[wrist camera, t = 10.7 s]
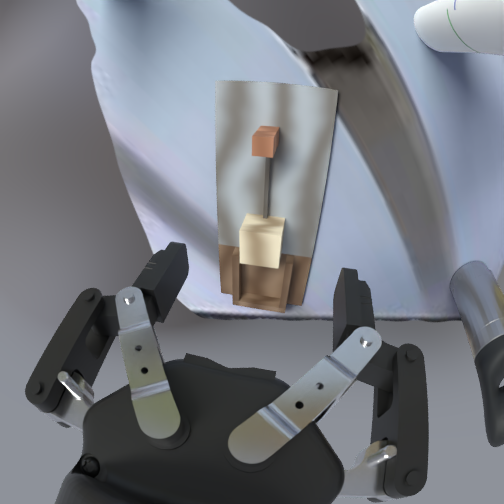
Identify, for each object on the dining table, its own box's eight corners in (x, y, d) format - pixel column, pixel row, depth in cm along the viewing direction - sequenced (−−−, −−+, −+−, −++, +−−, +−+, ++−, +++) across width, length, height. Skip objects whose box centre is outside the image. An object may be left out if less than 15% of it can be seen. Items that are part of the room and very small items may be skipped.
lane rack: (337, 90, 31) (340, 92, 29) (301, 302, 55) (300, 315, 53) (217, 80, 33) (209, 82, 31) (222, 289, 57) (217, 301, 55)
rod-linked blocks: (292, 128, 35) (289, 139, 30) (282, 249, 47) (277, 272, 43) (247, 124, 36) (237, 135, 31) (246, 244, 48) (238, 267, 44)
